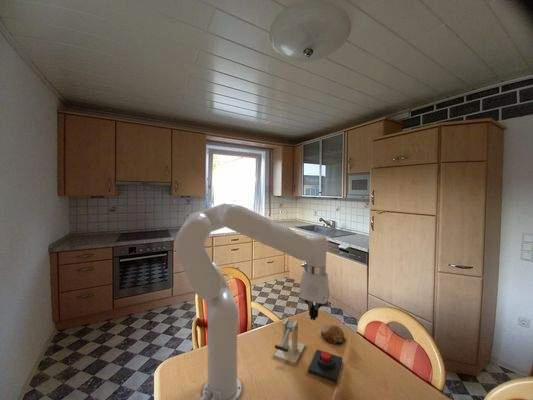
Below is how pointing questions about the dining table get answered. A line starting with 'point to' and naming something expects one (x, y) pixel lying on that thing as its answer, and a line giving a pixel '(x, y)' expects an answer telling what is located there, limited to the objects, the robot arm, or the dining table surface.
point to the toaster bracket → (291, 344)
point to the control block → (326, 367)
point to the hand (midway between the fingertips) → (313, 318)
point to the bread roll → (332, 334)
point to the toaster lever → (285, 337)
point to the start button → (325, 357)
